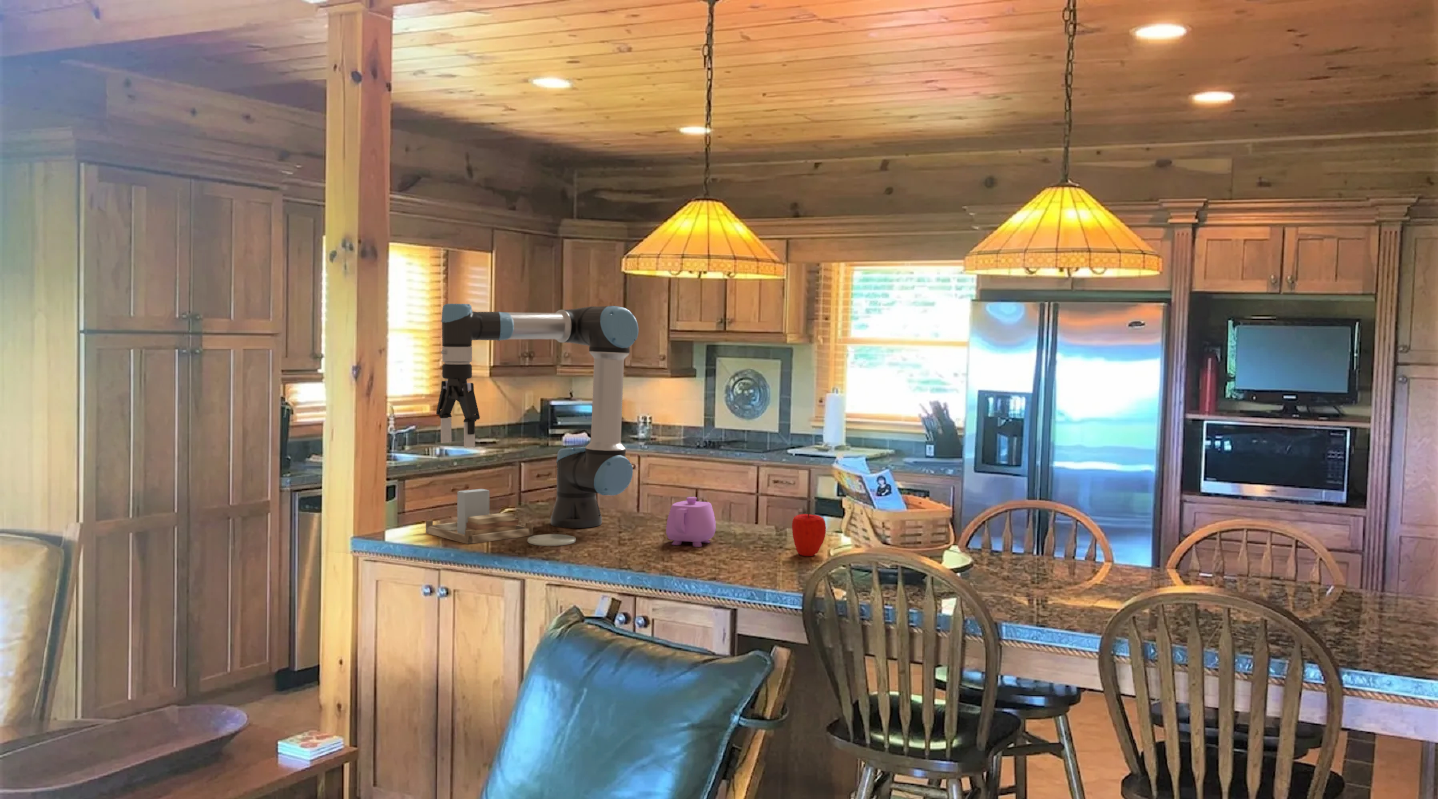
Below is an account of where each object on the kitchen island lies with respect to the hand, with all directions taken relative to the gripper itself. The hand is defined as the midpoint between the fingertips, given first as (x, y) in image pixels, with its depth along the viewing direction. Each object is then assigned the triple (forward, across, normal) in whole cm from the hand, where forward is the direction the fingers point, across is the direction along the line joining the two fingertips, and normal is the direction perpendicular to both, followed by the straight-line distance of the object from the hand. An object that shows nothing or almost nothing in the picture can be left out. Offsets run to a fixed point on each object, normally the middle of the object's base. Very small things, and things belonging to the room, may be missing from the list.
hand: (457, 445), depth 299 cm
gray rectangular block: (+28, -20, +15) cm, 37 cm away
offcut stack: (+28, -11, +16) cm, 34 cm away
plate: (+28, +4, +26) cm, 38 cm away
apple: (+28, +57, +71) cm, 96 cm away
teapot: (+28, +27, +56) cm, 68 cm away
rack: (+28, -18, +15) cm, 36 cm away
